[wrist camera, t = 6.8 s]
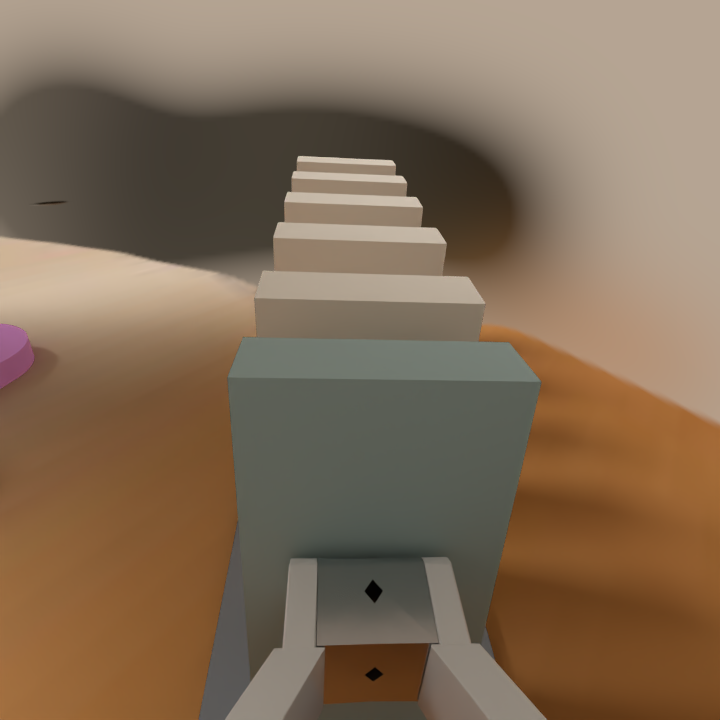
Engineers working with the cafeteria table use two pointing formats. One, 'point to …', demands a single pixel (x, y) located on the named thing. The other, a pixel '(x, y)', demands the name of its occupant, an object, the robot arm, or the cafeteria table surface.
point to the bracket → (14, 353)
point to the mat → (237, 646)
